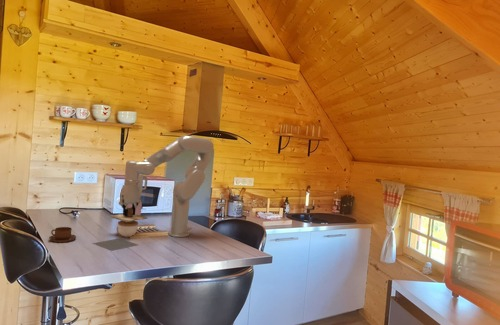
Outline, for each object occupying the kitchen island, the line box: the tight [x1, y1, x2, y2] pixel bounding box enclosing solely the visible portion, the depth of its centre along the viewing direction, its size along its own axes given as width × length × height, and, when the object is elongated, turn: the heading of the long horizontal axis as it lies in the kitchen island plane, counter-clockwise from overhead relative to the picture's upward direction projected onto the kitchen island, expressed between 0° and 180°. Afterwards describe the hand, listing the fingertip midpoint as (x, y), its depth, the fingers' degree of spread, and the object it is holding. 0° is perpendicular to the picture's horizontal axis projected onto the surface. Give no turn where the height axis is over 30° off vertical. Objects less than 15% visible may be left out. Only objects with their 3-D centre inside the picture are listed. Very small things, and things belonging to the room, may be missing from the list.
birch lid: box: [109, 208, 148, 222], centre depth 193 cm, size 14×14×5 cm
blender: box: [125, 174, 148, 216], centre depth 242 cm, size 16×12×32 cm
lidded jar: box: [117, 220, 139, 238], centre depth 193 cm, size 11×11×9 cm
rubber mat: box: [92, 238, 139, 252], centre depth 175 cm, size 16×16×1 cm
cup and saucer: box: [48, 226, 77, 243], centre depth 174 cm, size 12×12×6 cm
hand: (129, 215), depth 193 cm, fingers open, 4 cm apart
